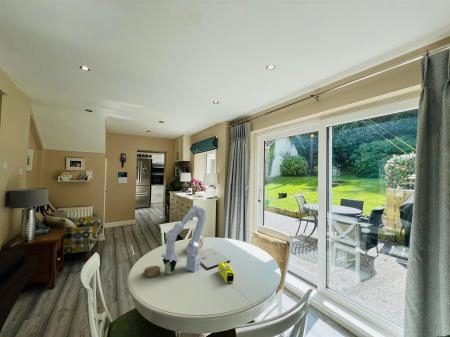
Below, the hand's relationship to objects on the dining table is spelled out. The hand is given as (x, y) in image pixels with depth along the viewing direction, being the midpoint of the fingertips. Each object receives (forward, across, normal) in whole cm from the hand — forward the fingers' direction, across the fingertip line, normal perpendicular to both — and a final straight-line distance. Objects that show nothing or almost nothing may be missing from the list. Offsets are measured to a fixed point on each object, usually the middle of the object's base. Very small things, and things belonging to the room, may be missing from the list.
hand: (169, 270), depth 136 cm
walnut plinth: (+2, -9, -7) cm, 12 cm away
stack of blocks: (+3, -11, +40) cm, 42 cm away
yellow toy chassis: (+3, +33, +18) cm, 38 cm away
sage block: (+1, 0, 0) cm, 1 cm away
